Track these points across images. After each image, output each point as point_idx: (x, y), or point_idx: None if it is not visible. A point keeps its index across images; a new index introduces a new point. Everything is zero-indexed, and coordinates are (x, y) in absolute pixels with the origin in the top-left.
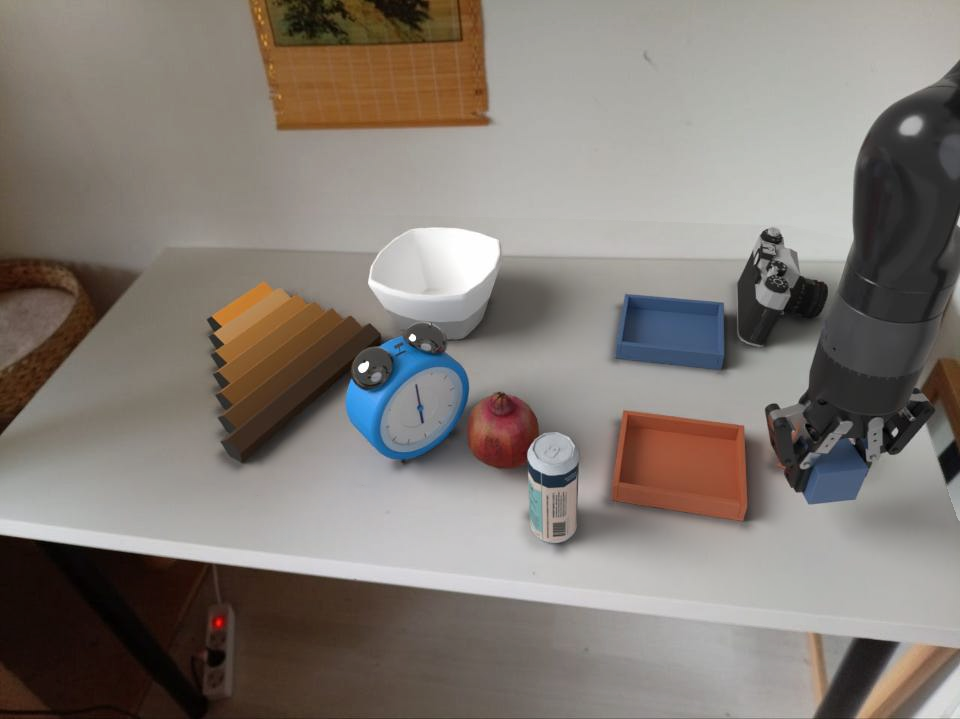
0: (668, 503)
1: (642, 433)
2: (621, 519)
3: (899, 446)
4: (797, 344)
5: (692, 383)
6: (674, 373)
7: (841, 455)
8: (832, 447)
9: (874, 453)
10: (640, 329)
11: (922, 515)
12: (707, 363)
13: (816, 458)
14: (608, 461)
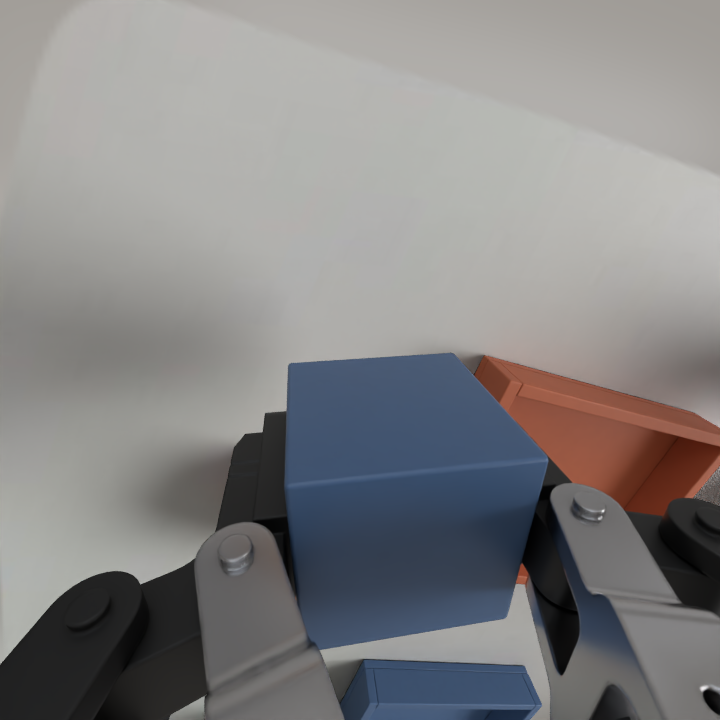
0: (626, 399)
1: None
2: (701, 371)
3: (51, 659)
4: (202, 712)
5: (425, 633)
6: (445, 647)
7: (383, 554)
8: (654, 684)
9: (235, 586)
10: (464, 716)
11: (51, 347)
12: (390, 674)
13: (582, 549)
14: None
